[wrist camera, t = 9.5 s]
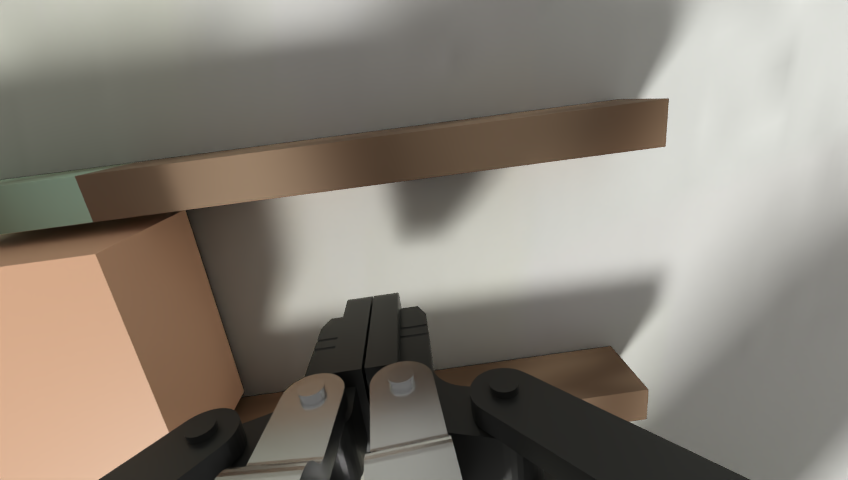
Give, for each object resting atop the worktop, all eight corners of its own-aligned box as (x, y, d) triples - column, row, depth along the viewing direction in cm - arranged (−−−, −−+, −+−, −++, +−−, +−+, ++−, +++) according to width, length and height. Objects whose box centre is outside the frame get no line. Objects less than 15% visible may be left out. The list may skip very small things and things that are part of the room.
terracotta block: (185, 209, 13) (95, 254, 9) (244, 391, 15) (192, 488, 11) (-8, 234, 13) (-179, 290, 9) (81, 413, 15) (-26, 519, 11)
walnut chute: (618, 99, 13) (669, 98, 10) (609, 372, 16) (646, 418, 14) (-29, 183, 12) (-130, 203, 10) (99, 443, 16) (45, 504, 13)
